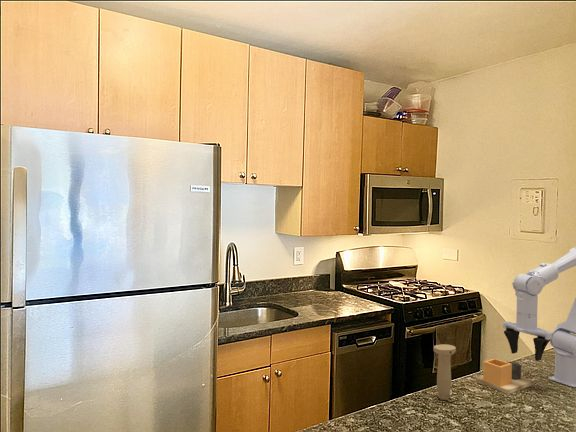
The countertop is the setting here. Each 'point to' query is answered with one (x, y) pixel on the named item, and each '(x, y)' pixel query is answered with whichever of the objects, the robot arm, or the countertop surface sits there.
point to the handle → (444, 369)
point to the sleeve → (497, 372)
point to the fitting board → (515, 385)
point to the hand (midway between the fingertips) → (526, 356)
